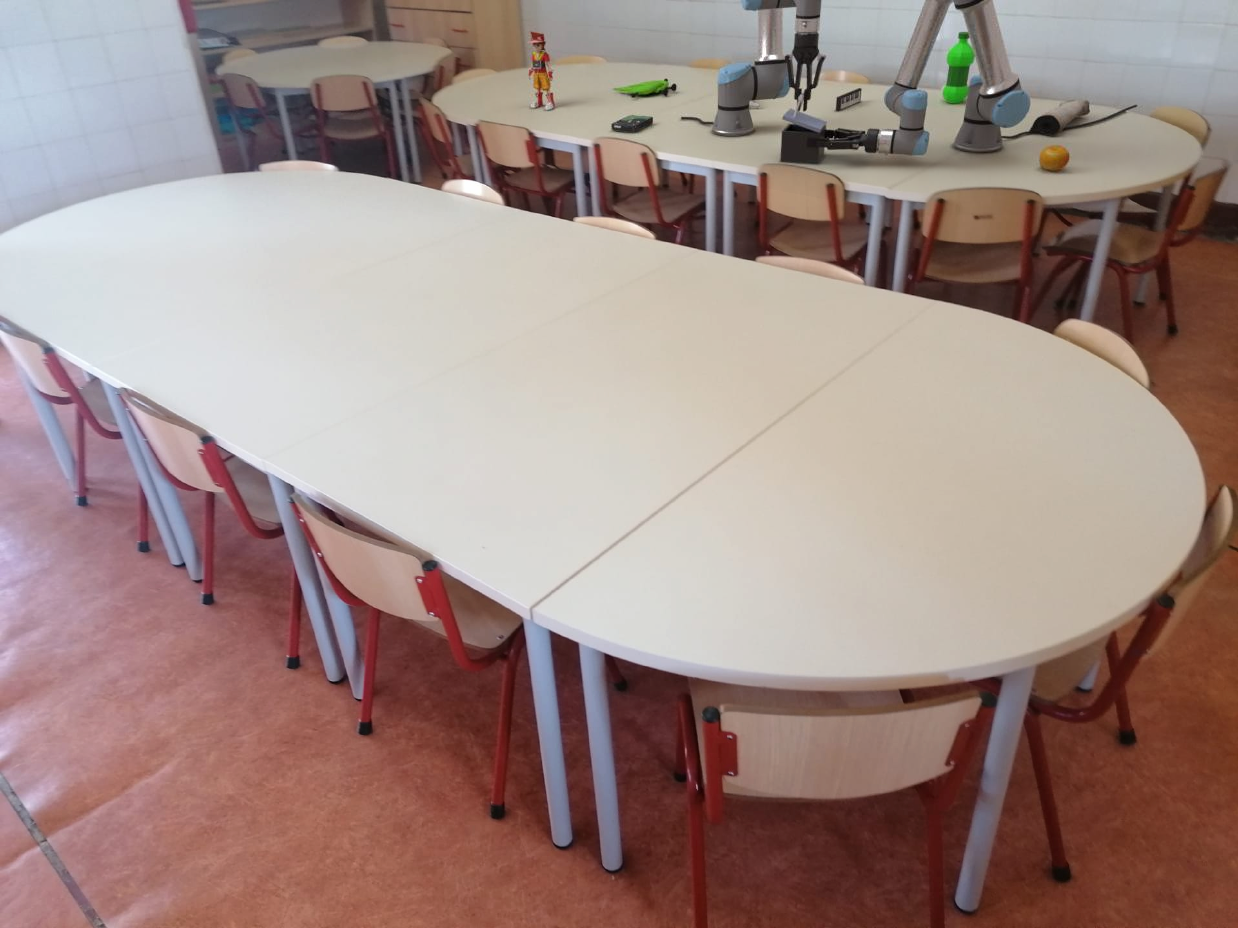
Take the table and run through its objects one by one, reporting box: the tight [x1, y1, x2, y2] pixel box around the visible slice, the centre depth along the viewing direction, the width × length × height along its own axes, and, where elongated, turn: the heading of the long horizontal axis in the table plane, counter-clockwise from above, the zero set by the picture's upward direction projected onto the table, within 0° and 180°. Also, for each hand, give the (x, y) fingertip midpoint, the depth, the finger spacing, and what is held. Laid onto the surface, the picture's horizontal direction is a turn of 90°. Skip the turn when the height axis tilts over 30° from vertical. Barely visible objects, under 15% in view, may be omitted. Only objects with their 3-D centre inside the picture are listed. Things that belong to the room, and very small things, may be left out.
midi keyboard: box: [835, 87, 863, 112], centre depth 357 cm, size 18×1×5 cm, turn 138°
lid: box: [781, 91, 828, 133], centre depth 295 cm, size 13×10×8 cm
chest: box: [779, 123, 827, 165], centre depth 301 cm, size 13×10×10 cm
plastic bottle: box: [942, 31, 976, 104], centre depth 348 cm, size 10×10×25 cm
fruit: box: [1038, 144, 1071, 172], centre depth 279 cm, size 8×8×8 cm
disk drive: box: [610, 114, 654, 133], centre depth 348 cm, size 10×3×15 cm
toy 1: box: [527, 31, 556, 111], centre depth 374 cm, size 12×9×30 cm
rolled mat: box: [1028, 99, 1091, 137], centre depth 319 cm, size 30×9×10 cm
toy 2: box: [612, 78, 677, 99], centre depth 396 cm, size 28×5×30 cm
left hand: (801, 110), depth 296 cm, fingers closed on lid, 1 cm apart
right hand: (810, 137), depth 299 cm, fingers closed on chest, 10 cm apart
